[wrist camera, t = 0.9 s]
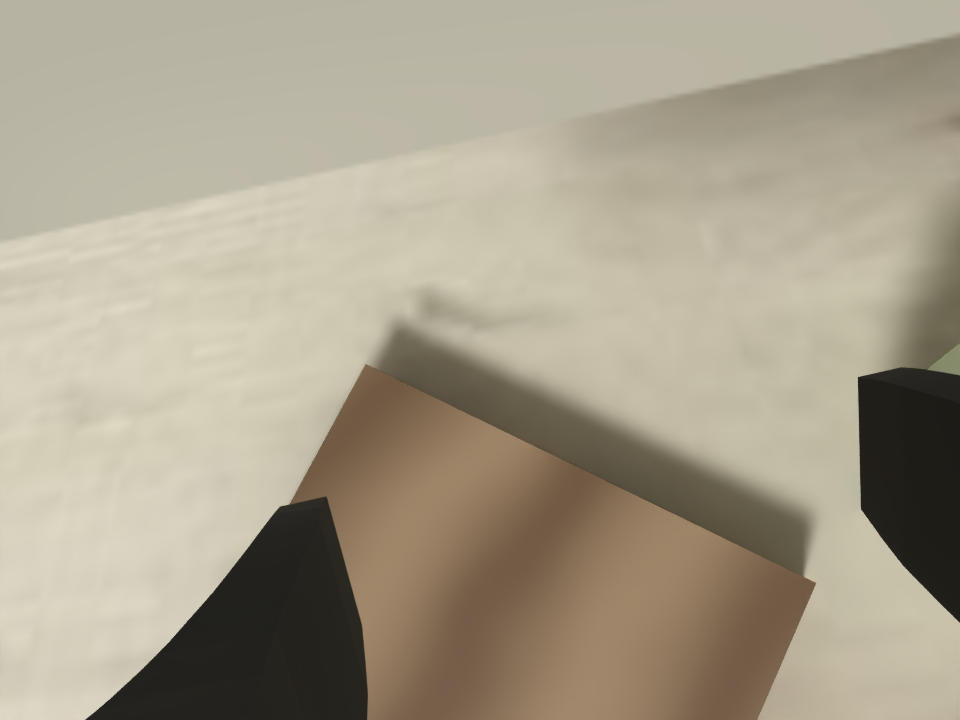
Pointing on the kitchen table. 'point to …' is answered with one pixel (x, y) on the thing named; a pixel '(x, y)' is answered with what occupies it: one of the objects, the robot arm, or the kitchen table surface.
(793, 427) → the kitchen table surface
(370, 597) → the walnut base
